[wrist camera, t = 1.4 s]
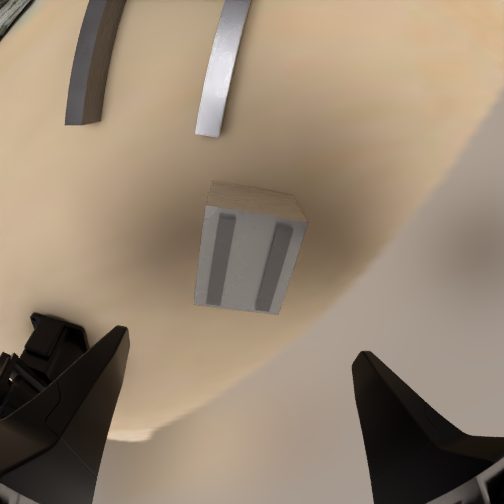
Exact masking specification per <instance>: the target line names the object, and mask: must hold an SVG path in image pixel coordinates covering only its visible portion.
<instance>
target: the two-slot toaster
mask: <svg viewBox="0 0 504 504" xmlns="http://www.w3.org/2000/svg"><path fill="white" fill-rule="evenodd" d="M307 223H308V222H307V220H306V218H305V217H304V215H303V213H302V211H301V210H300V208H299V206H298V205H297V203H296V201H295V199H294V198H293V196H292V195H290V194H285V193H280V192H275V191H269V190H264V189H258V188H253V187H247V186H241V185H235V184H229V183H223V182H216V181H212V184H211V188H210V192H209V195H208V199H207V203H206V208H205V215H204V222H203V229H202V236H201V244H200V252H199V260H198V269H197V277H196V286H195V296H194V304H195V305H202V306H209V307H217V308H224V309H232V310H240V311H249V312H258V313H267V314H277V315H278V314H279V311H280V308H281V305H282V303H283V300H284V297H285V293H286V290H287V287H288V284H289V281H290V278H291V275H292V272H293V269H294V266H295V263H296V259H297V256H298V253H299V250H300V247H301V243H302V240H303V237H304V233H305V230H306V227H307Z"/></svg>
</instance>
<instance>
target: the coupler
mask: <svg viewBox="0 0 504 504" xmlns="http://www.w3.org/2000/svg"><path fill="white" fill-rule="evenodd" d="M125 1H126V0H89V3H88V6H87V10H86V13H85V16H84V20H83V23H82V27H81V31H80V34H79V38H78V43H77V47H76V52H75V56H74V61H73V66H72V72H71V78H70V84H69V91H68V99H67V107H66V117H65V125H85V124H90V123H94V122H99V121H101V112H102V105H103V97H104V91H105V85H106V79H107V73H108V68H109V63H110V58H111V53H112V49H113V44H114V40H115V36H116V32H117V28H118V25H119V21H120V18H121V14H122V11H123V8H124V4H125ZM251 1H252V0H225V3H224V6H223V10H222V13H221V17H220V21H219V24H218V28H217V32H216V36H215V40H214V44H213V48H212V52H211V56H210V61H209V65H208V69H207V74H206V79H205V83H204V88H203V93H202V98H201V103H200V108H199V113H198V119H197V124H196V130H195V134H198V135H205V136H212V137H219V135H220V133H221V129H222V124H223V119H224V114H225V109H226V105H227V100H228V95H229V91H230V86H231V81H232V77H233V73H234V68H235V64H236V60H237V55H238V51H239V47H240V43H241V39H242V35H243V31H244V27H245V23H246V20H247V16H248V12H249V9H250V5H251Z"/></svg>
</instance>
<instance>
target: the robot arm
mask: <svg viewBox="0 0 504 504" xmlns="http://www.w3.org/2000/svg"><path fill="white" fill-rule="evenodd" d="M30 318H31V321H32V324H33V327H34V331H33V333H32V334H31V336H30V338H29V339H28V341H27V343H26V344H25V349H24V351H23V353H22V354H21V356H20V358H18V357H19V356H18V355H16V354H15V353H13V354H12V355H11V356H10V355H9V354H7V353H4V352H2V353H1V355H0V504H92V501H93V496H94V490H95V486H96V481H97V476H98V472H99V467H100V463H101V458H102V454H103V451H104V446H105V443H106V439H107V435H108V431H109V428H110V424H111V420H112V417H113V413H114V410H115V407H116V403H117V400H118V397H119V393H120V390H121V387H122V383H123V378H124V373H125V368H126V362H127V357H128V353H129V348H130V340H129V331H128V328H127V327H124V326H119V325H117V326H115V327H114V328H113V329H112V330H111V331H110V332H109V333H107V334H106V335H105V336H104V337H103V338H102V339H100V340H99V341H98V342H97V343H96V344H95V345H94V346H92V347H91V348H90V349H89V346H88V343H87V339H86V335H85V331H84V329H83V328H81V327H79V326H76V325H72V324H68V323H65V322H61V321H58V320H54V319H51V318H48V317H44V316H41V315H38V314H35V313H33V314H32V315H31V317H30ZM352 375H353V383H354V393H355V400H356V405H357V410H358V414H359V419H360V424H361V429H362V434H363V439H364V445H365V450H366V455H367V460H368V466H369V473H370V479H371V482H372V483H371V486H372V493H373V500H374V504H504V437H485V436H472V435H468V434H465V433H464V432H462V431H461V430H459V429H458V428H457V427H455V426H454V425H453V424H451V423H450V422H449V421H448V420H446V419H445V418H444V417H443V416H441V415H440V414H439V413H438V412H437V411H435V410H434V409H433V408H432V407H431V406H430V405H429V404H428V403H427V402H425V401H424V400H423V399H422V398H421V397H420V396H419V395H418V394H417V393H415V392H414V391H413V390H412V389H411V388H410V387H409V386H408V385H407V384H406V383H405V382H404V381H403V380H401V379H400V378H399V377H398V376H397V375H396V374H395V373H394V372H393V371H392V370H391V369H389V368H388V367H387V366H386V365H385V364H384V363H383V362H382V361H381V360H380V359H379V358H377V357H376V356H375V355H374V354H373V353H372V352H370V351H361V352H360V353H359V355H358V356H357V358H356V359H355V361H354V362H353V364H352ZM9 378H11V379H12V381H10V380H9Z"/></svg>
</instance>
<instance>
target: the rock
mask: <svg viewBox="0 0 504 504" xmlns="http://www.w3.org/2000/svg"><path fill="white" fill-rule="evenodd" d="M29 1H30V0H0V37H1V36H2V35H3V34H4V32H5V31H6V29H7V28H8V27H9V25H10V24H11V23H12V22H13V20H14V19H15V18H16V16H17V15H18V14H19V13H20V12H21V10H22V9H23V8H24V7H25V6H26V5H27V4H28V2H29Z"/></svg>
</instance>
